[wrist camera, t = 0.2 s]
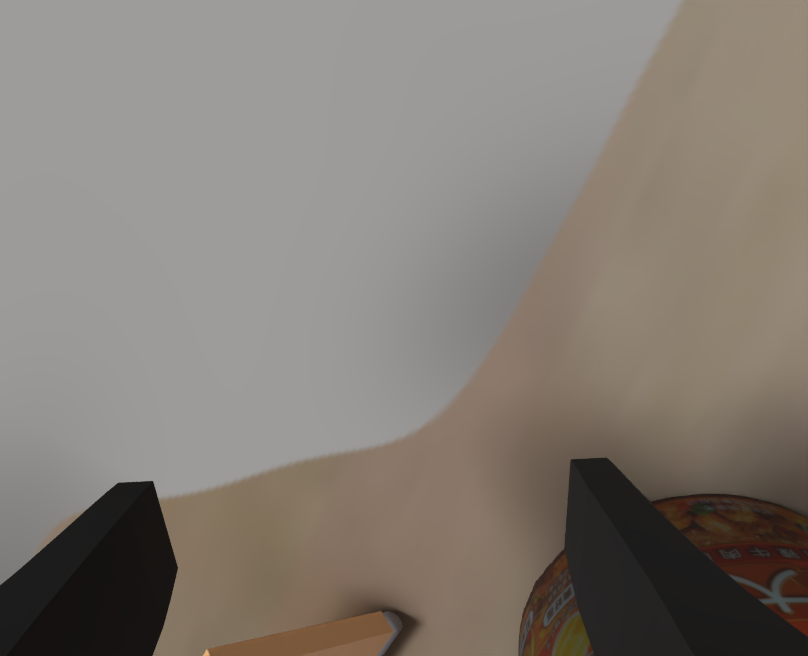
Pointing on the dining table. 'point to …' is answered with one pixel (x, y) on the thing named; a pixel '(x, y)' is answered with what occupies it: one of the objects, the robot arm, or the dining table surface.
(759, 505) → the food container
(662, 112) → the dining table surface
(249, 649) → the latch flap
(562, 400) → the dining table surface
